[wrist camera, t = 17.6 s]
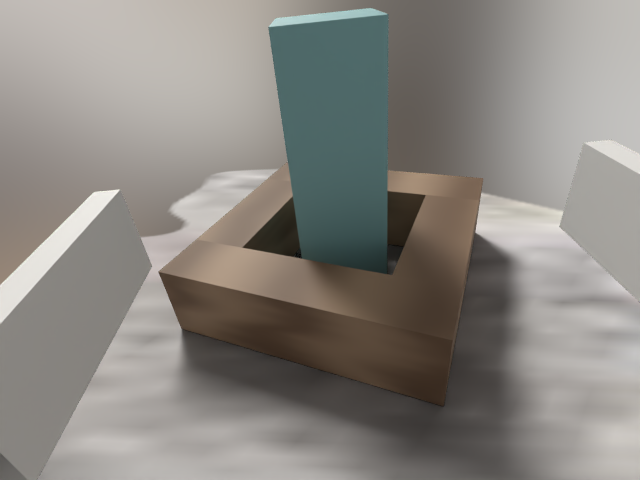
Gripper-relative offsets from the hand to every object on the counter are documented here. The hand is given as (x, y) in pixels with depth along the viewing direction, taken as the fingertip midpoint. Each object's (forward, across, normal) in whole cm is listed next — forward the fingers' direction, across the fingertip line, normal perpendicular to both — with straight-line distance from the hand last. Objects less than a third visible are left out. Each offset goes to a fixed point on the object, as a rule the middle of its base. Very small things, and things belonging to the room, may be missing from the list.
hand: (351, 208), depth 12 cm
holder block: (+9, 0, -10) cm, 13 cm away
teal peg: (+9, 0, -10) cm, 13 cm away
